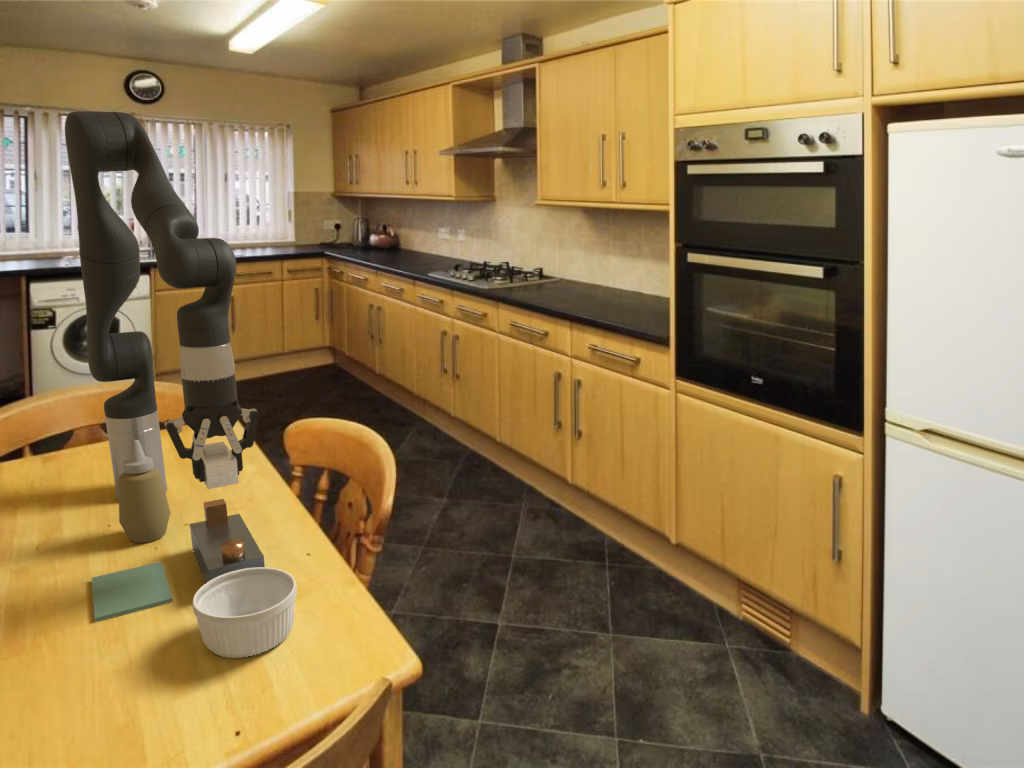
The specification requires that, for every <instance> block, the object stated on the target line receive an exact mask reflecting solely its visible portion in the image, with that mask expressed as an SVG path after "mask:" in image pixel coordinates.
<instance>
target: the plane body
mask: <svg viewBox="0 0 1024 768" xmlns="http://www.w3.org/2000/svg"><path fill="white" fill-rule="evenodd" d="M203 510H204V512H203V513H204V520H202V521H197V522H192V523H189V529H190V538H191V546H192V552H193V551H194V552H193V555H194V554H195V555H194V558H195V557H196V558H195V560H196V563H197V562H198V563H197V566H198V565H199V566H198V568H199V567H200V568H199V571H200V570H201V571H200V573H202V574H201V576H202V575H203V576H202V579H203V578H204V579H203V581H205V582H204V584H205V583H207V582H209V581H210V580H212V579H214V578H216V577H218V576H221V575H223V574H226V573H229V572H232V571H236V570H241V569H246V568H256V567H266V565H265V556H264V554H263V552H262V551H261V549H260V547H259V545H258V544H257V542H256V539H254V537H253V535H252V533H251V531H250V530H249V528H248V527H247V525H246V522H244V519H243V517H242V516H241V513H236V514H231V515H228V510H227V502H226V500H225V499H224V498H220V499H215V500H210V501H204V502H203Z"/></svg>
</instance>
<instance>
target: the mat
mask: <svg viewBox="0 0 1024 768" xmlns="http://www.w3.org/2000/svg"><path fill="white" fill-rule="evenodd" d="M91 590H92V591H91V592H92V600H93V601H92V602H93V613H94V614H93V615H94V622H95V623H96V622H101V621H105V620H108V619H112V618H117V617H119V616H123V615H128V614H131V613H135V612H139V611H143V610H147V609H150V608H154V607H158V606H162V605H165V604H168V603H169V604H170V603H172V602H173V596H172V592H171V588H170V585H169V581H168V579H167V574H166V572H165V566H164V564H163V561H162V560H161V561H157V562H153V563H149V564H144V565H141V566H137V567H132V568H128V569H123V570H119V571H118V570H117V571H114V572H110V573H106V574H100V575H98V576H93V577H91ZM173 603H174V602H173ZM146 608H147V609H146Z"/></svg>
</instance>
